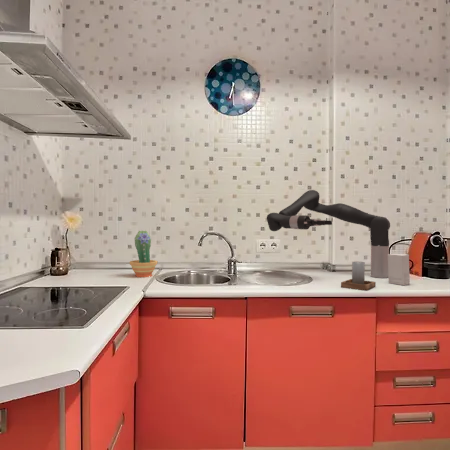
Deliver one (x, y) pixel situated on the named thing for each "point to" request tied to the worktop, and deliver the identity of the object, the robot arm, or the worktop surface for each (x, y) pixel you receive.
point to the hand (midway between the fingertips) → (328, 222)
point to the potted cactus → (143, 256)
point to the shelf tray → (358, 285)
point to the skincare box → (398, 269)
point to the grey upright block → (358, 272)
